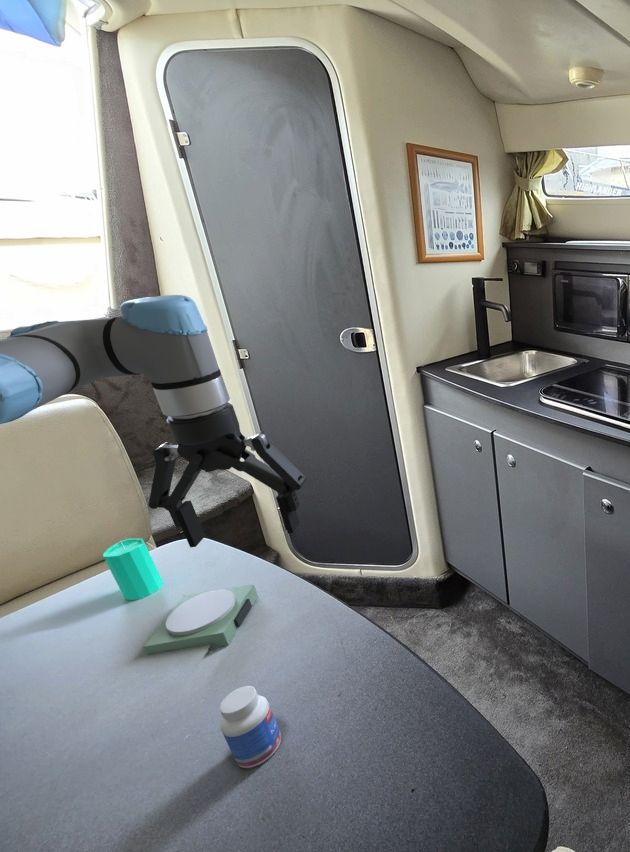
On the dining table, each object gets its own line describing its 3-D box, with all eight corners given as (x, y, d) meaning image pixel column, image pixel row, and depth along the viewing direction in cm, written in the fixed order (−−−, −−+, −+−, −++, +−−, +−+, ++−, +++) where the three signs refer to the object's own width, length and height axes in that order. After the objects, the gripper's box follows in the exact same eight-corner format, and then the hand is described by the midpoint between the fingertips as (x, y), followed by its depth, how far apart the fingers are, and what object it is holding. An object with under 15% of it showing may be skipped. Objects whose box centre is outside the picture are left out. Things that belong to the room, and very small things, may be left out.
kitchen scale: (149, 659, 83) (141, 643, 82) (189, 607, 94) (182, 592, 93) (231, 645, 85) (224, 628, 84) (260, 595, 96) (254, 580, 95)
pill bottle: (287, 747, 68) (267, 698, 65) (242, 778, 65) (218, 728, 61) (275, 721, 72) (255, 673, 68) (232, 750, 68) (208, 701, 65)
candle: (145, 600, 96) (120, 550, 92) (115, 600, 97) (89, 551, 92) (170, 578, 102) (148, 530, 97) (142, 579, 102) (119, 531, 98)
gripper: (305, 390, 74) (339, 509, 82) (116, 409, 70) (171, 532, 78) (285, 408, 67) (324, 536, 75) (74, 431, 63) (139, 563, 71)
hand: (246, 535), depth 77 cm, fingers open, 13 cm apart
